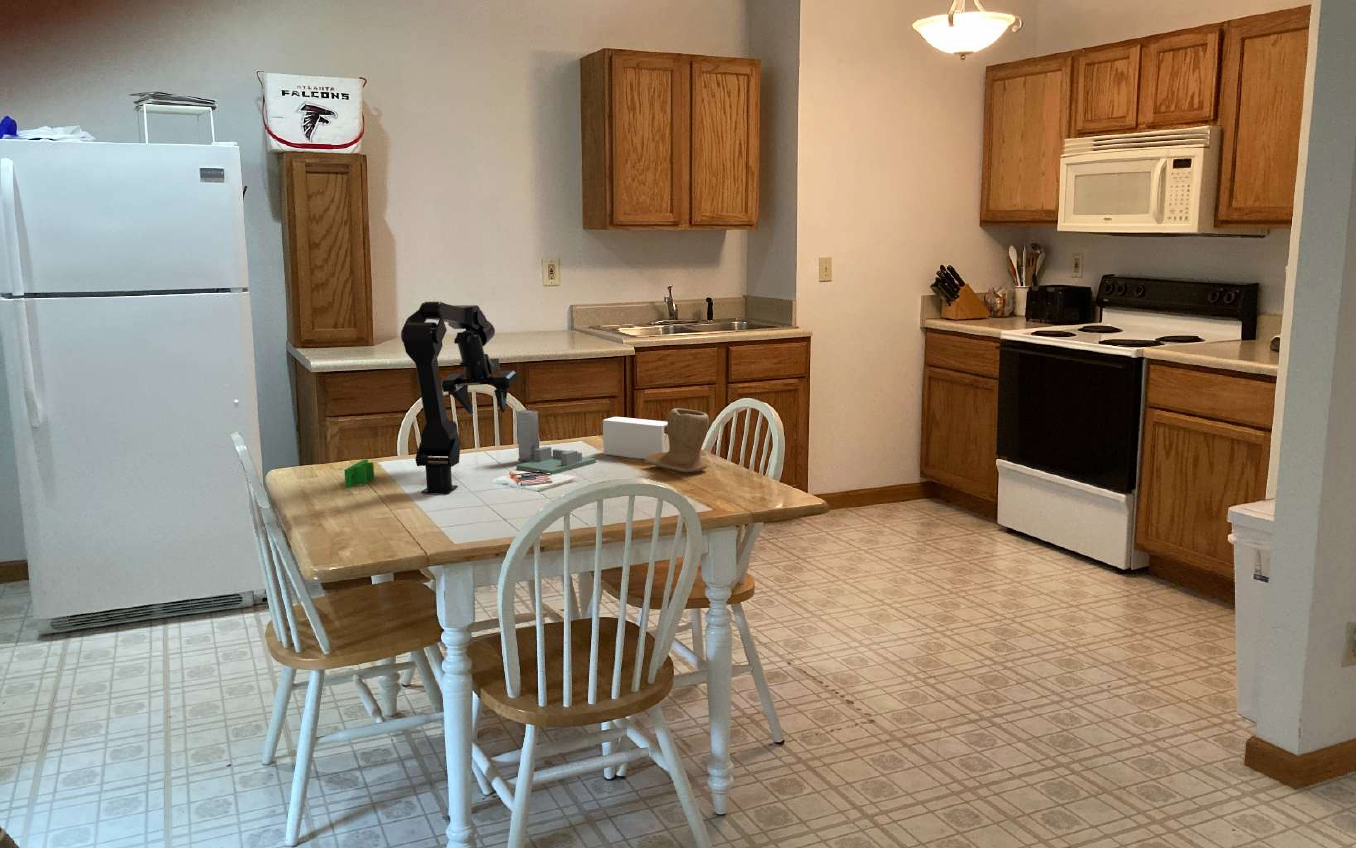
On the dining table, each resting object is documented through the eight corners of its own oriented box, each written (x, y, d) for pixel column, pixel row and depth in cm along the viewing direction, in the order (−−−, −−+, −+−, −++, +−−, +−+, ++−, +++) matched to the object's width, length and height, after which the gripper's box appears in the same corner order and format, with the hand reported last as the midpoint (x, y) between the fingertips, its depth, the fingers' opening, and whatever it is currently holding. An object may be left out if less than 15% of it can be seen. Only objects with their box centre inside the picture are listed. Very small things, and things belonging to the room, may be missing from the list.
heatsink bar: (531, 463, 277) (529, 413, 275) (518, 461, 280) (515, 411, 278) (541, 461, 280) (538, 411, 278) (527, 459, 283) (525, 409, 281)
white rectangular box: (674, 458, 280) (674, 422, 279) (662, 462, 276) (661, 425, 274) (612, 450, 291) (611, 416, 290) (599, 454, 287) (598, 419, 285)
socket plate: (551, 474, 265) (550, 458, 264) (516, 469, 272) (515, 453, 271) (595, 462, 277) (595, 447, 276) (561, 457, 284) (560, 442, 283)
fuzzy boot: (720, 470, 266) (719, 409, 263) (682, 478, 258) (680, 415, 255) (680, 460, 277) (679, 402, 274) (643, 468, 270) (641, 408, 267)
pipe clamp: (361, 489, 256) (359, 470, 255) (345, 489, 256) (344, 470, 255) (379, 477, 267) (378, 459, 266) (364, 477, 267) (363, 459, 266)
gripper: (520, 340, 272) (533, 398, 278) (454, 345, 278) (469, 401, 284) (501, 357, 262) (515, 416, 268) (433, 361, 269) (449, 419, 275)
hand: (487, 412), depth 274 cm, fingers open, 9 cm apart
